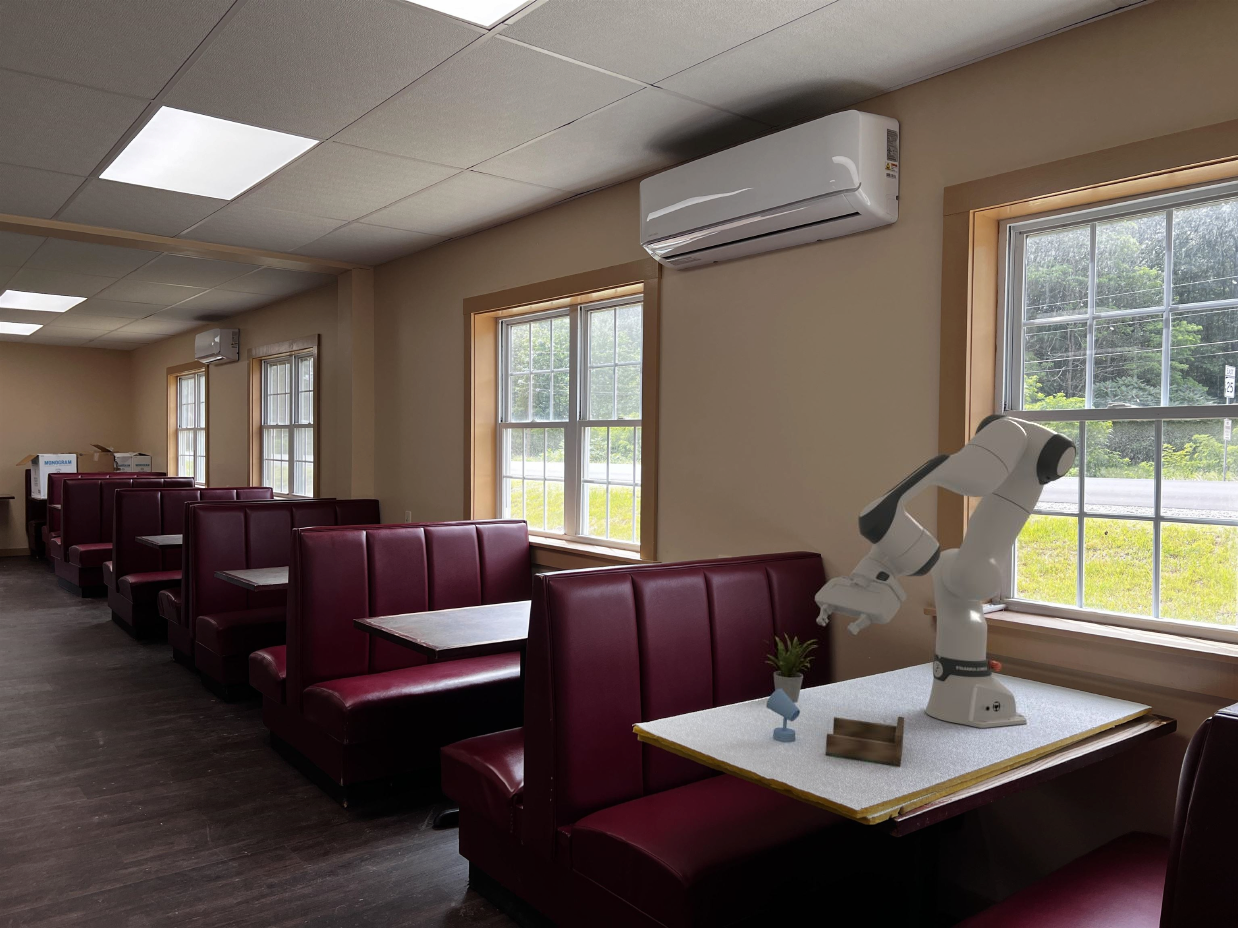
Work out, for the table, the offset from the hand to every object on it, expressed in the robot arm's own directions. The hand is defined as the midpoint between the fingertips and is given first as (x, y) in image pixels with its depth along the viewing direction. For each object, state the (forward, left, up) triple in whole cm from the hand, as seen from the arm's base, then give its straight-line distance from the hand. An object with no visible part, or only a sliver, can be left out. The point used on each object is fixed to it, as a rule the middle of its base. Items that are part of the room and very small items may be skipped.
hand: (835, 627), depth 187 cm
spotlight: (+12, +3, -23) cm, 26 cm away
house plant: (-3, -25, -23) cm, 34 cm away
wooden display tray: (-2, +12, -23) cm, 25 cm away
